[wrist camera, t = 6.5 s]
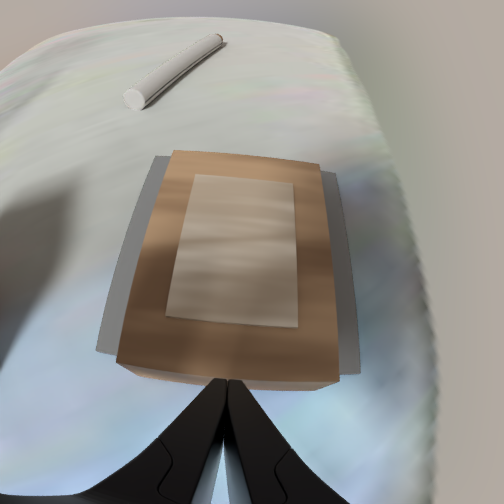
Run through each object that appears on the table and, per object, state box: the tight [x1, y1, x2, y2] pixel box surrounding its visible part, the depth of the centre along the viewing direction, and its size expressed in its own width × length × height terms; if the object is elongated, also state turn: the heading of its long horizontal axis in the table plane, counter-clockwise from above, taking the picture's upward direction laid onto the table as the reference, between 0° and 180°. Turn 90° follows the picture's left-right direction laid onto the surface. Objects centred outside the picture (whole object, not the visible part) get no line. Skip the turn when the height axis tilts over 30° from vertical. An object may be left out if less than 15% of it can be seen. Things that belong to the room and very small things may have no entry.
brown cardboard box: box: [116, 150, 340, 391], centre depth 17 cm, size 4×10×14 cm
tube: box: [124, 34, 223, 110], centre depth 35 cm, size 3×3×25 cm
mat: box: [96, 156, 361, 375], centre depth 20 cm, size 17×16×1 cm
